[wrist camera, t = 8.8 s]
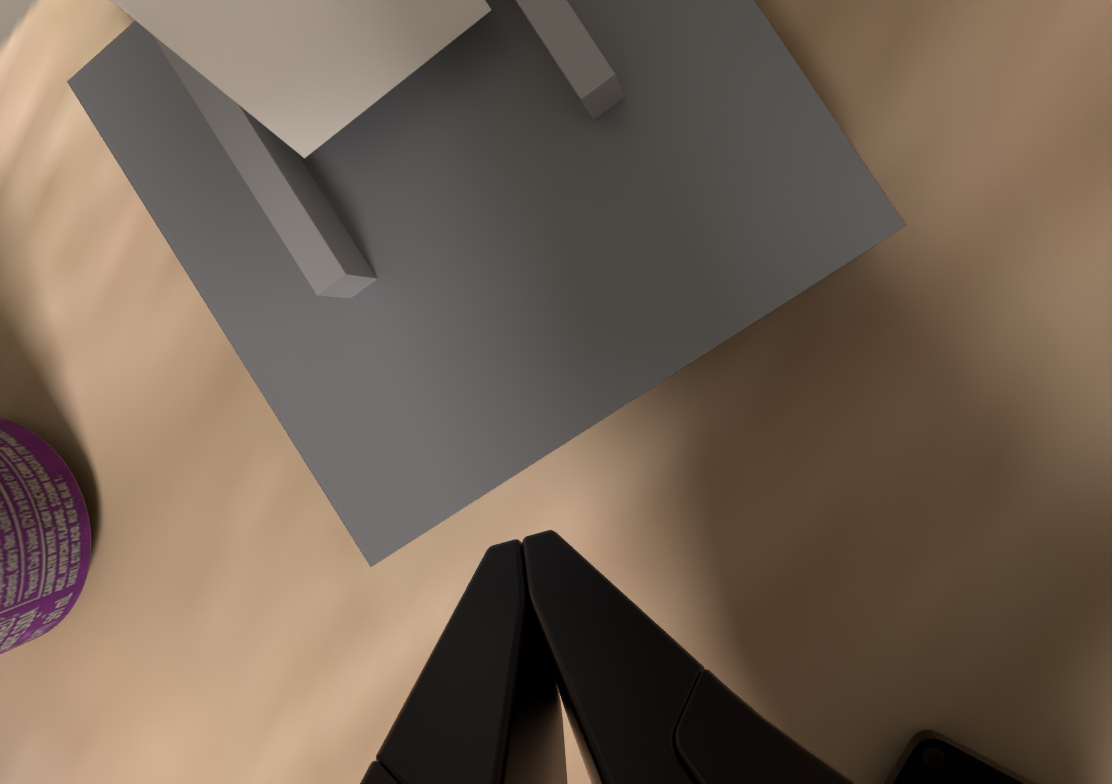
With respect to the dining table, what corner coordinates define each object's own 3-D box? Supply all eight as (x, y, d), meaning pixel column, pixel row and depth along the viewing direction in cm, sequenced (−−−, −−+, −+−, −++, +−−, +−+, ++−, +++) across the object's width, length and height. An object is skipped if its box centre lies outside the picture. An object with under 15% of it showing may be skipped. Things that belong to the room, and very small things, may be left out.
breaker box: (872, 243, 19) (926, 214, 14) (423, 530, 22) (339, 588, 17) (562, -221, 20) (511, -402, 15) (163, 118, 23) (10, 59, 18)
